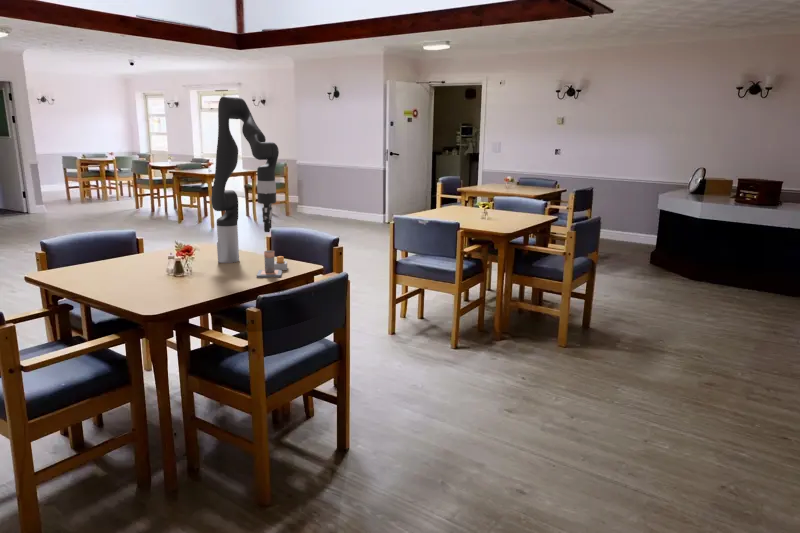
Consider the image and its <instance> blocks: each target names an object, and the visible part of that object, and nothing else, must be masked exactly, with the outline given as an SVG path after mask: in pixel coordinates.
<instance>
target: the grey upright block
mask: <svg viewBox="0 0 800 533" xmlns="http://www.w3.org/2000/svg"><path fill="white" fill-rule="evenodd" d="M263 254H264V270H265V273H274V272H275V268H274V261H275V250H265V251H263Z"/></svg>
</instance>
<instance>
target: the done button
mask: <svg viewBox="0 0 800 533" xmlns="http://www.w3.org/2000/svg"><path fill="white" fill-rule="evenodd" d="M284 257H285V256H282V255H279V256H276V261H277V264H280V263H284V261H285V260H284V259H285V258H284Z"/></svg>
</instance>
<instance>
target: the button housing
mask: <svg viewBox="0 0 800 533" xmlns="http://www.w3.org/2000/svg"><path fill="white" fill-rule="evenodd" d="M274 268H275V270H287V271H288V261H287V260H284V263H280V264H277V260H274Z"/></svg>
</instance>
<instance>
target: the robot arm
mask: <svg viewBox="0 0 800 533" xmlns="http://www.w3.org/2000/svg"><path fill="white" fill-rule="evenodd" d="M217 111H218V112H217V114H218V115H217V118H218V119H217V120H218V122H217V124H218V125H217V126H218V129H217V144H216V153H215V155H216V156H215V157H216V158H215V170H214V171H215V172H214V179H213V186H212V191H211V198H210V199H211V200H210V201H211V202H210V203H211V207H212V208H213V210H214V211H216V212H224V214H222V216H220V217H219V218H217V219H216V234H217V237H216V238H217V242H216V251H217V252H216V253H217V262H218V263H221V264H231V263H233V262H234V263H238V262H239V261H240V252H239V251H240V250H239V232H238V231H239V229H238V228H239V227H238V220H239V196H238V194H237V192H236V191H235V190H233V189H227V190H226V185H227V182H228V180H229V178H230V177H231V176H232V174H233V173H234V171H235V169H236V167H237V165H238V161H239V160H238V159H239V148H238V145H237V142H236V140H235V139H234V137H233V135H232V133H231V130H230V120H241V121H242V126H241V127H242V128H241V130H242V136H243V137H244V139H245V140H246V141H247V142H248V144H249V147H250V150H251V154H252V157H254V159H256V160H258V161H266V162H265V164H263V165H260V166H258V167H257V170H256V173H257V184H256V191H257V192H256V193H257V203H258V204H261V205H262V204H263V207H261V211H262V223H263V231H264V233H270V231H271V229H272V219H273V218H272V217H273V207H272V206H273V204H276V203H277V184H276V169H277V168H276V167H277V163H278V157H279V154H280V153H279V151H280V150H279V147H278V145H277V143H275V142H271V141H269V142H268V141H267V142H266V136H265V134H264V133H263V132H262V130H261V129H260V128H259V126H258V124H257V123H256V121H255V118H254V117H253V115H252V112H251V110H250V108H249V105H248V104H247V102H246V101H245V100H244V99H243V98H242V97H236V96H226V95H225V96H221V97H220V98H219V101H218V108H217ZM237 261H238V262H237Z"/></svg>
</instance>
